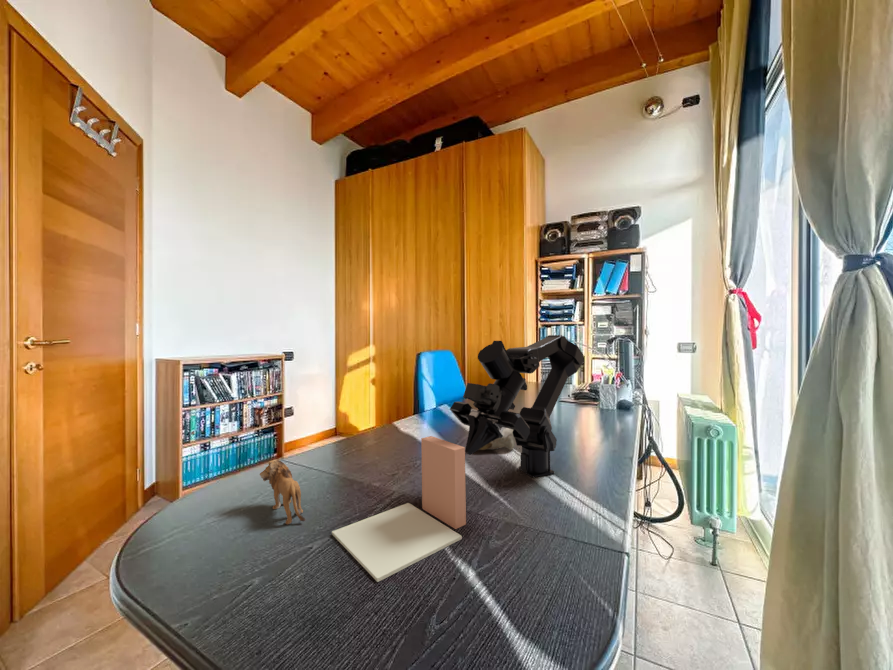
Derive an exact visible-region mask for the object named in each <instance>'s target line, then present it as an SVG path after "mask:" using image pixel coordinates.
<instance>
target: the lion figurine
mask: <svg viewBox="0 0 893 670" xmlns="http://www.w3.org/2000/svg"><path fill="white" fill-rule="evenodd" d="M259 476H260V478H261V479H262V481H263V482H267V481H268V484H269V485H271V488H272V490H273V498H274V502H275V504H274V505H273V506H272V509H273V510H278V509H280V508H281V499H280V496H282V504H283V509H284V511H285V514H286V517H287V518H286V519H285V523H284V524H285V525H290V524H292V523H293V515H292V511H291V508H290V504H291V503H292V506H293V510H294V513H295V515H296V516H297V517H298V519H299V521H300V522H306V518H305V517H304V516H303V515H301V514H303V513H304V509H302V506H301V503H302V502H301V501H302V498H301V496H302V492H301V487H300V483H298V481H297V480H294V478H293V475H292V471H291V470H290V469H289V466H287V464H286V463H284V462H283V461H281V460H279V459H272V460H270V461H268V466H266V467H265V469H263V471H261V472H260V473H259Z"/></svg>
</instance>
